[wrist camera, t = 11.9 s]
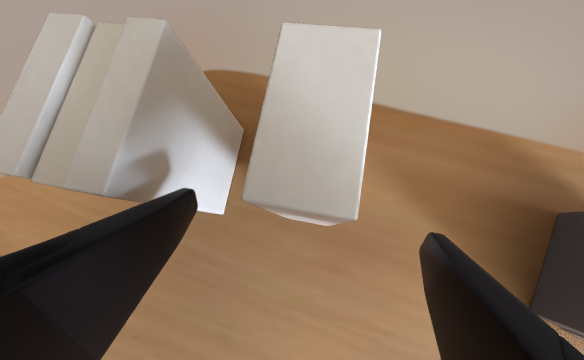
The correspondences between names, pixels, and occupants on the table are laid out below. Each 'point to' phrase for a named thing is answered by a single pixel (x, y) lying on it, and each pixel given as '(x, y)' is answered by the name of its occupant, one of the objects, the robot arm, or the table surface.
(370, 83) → the white tall block
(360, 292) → the table surface
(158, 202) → the robot arm
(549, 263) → the grey books
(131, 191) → the white books
